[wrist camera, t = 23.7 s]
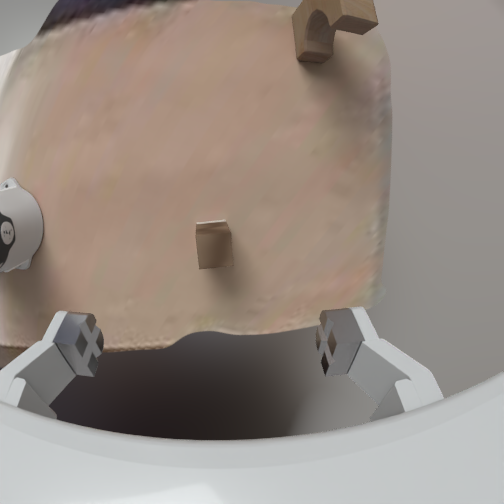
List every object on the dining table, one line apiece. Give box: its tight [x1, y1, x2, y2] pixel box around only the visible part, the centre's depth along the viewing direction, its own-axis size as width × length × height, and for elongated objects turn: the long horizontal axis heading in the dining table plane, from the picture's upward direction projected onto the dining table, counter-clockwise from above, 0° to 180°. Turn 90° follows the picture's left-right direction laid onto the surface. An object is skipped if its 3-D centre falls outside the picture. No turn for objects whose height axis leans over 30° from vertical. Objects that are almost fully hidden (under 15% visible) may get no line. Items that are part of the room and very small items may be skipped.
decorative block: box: [292, 0, 378, 63], centre depth 33 cm, size 11×6×20 cm, turn 2°
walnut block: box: [196, 220, 233, 269], centre depth 46 cm, size 5×5×10 cm
